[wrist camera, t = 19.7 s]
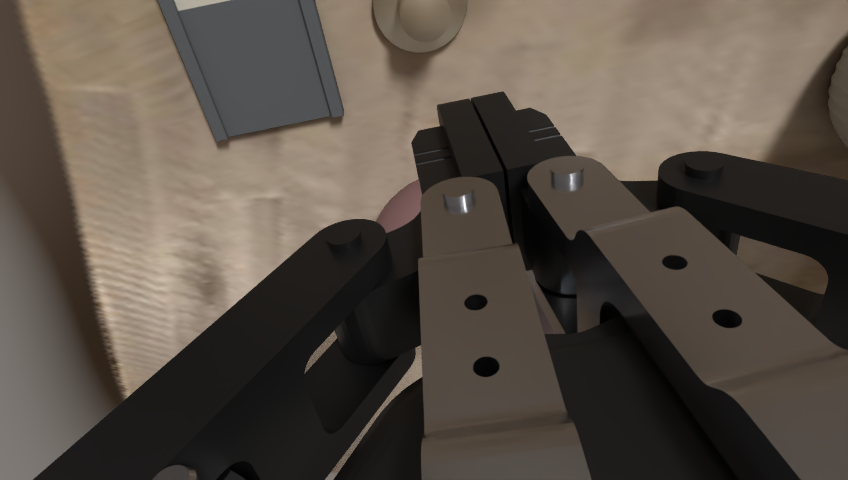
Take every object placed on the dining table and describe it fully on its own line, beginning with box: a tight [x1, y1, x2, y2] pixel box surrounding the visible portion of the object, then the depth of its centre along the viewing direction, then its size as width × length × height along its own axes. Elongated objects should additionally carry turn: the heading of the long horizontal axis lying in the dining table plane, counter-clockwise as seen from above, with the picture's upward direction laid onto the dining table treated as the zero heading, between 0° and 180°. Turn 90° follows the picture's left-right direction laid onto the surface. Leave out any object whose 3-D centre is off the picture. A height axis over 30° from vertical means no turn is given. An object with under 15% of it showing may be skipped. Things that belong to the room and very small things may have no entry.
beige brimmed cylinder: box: [373, 0, 467, 53], centre depth 35 cm, size 6×6×4 cm
